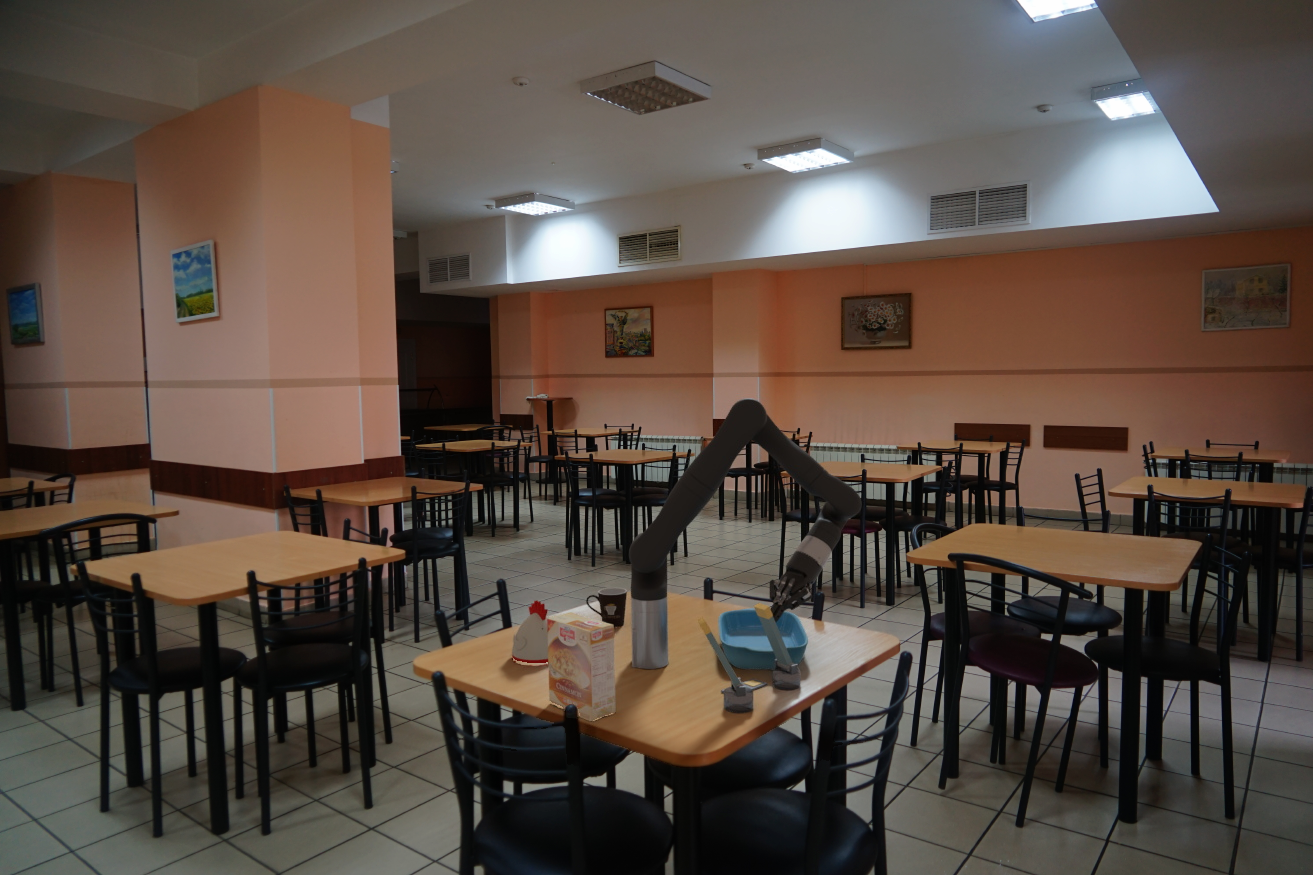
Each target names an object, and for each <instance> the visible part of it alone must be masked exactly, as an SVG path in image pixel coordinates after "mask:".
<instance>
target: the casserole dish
mask: <svg viewBox="0 0 1313 875" xmlns="http://www.w3.org/2000/svg"><path fill="white" fill-rule="evenodd" d="M717 623H718V634H719V640H720V644H721V647H722V651H723V653H724V655H725V657H726V658H727V660H728V662H729V664H730V665H731V666H733V667H735V668H738V669H742V670H773V668H775V659H776V656H775V654H774V652H773V649H772V647H771V645H770V642H769V640H768V638H767V635H766V633H765V631H764V628H763V626H762V624H761V621H760V619H759V617H758V615H757V613H756V610H755V608H754V607H752V608H751V607H750V608H743V609H735V610H729V611H728V610H727V611H724V612H722V613H720V614H719V617H718V622H717ZM776 625H777V627H778V629H779V632H780V634H781V637H782V639H783V641H784V644H785V646H786V648H787V651H788V653H789V656H790V658H791V660H792V663H794V664H798V665H799V664H800V663H801V661H803V658H804V656H805V653H806V649H807V646H808V642H809V639H808V638H809V637H808V635H807V632H806V630H805V628H804V626H803V624H802V622H801V619H800V618H799V616H798V615H796V614H795V613H793V612H790V611H787V610H786V611H784V612H783V614H782V616H781V617H780V619H779V620H778V621H777V622H776Z"/></svg>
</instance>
